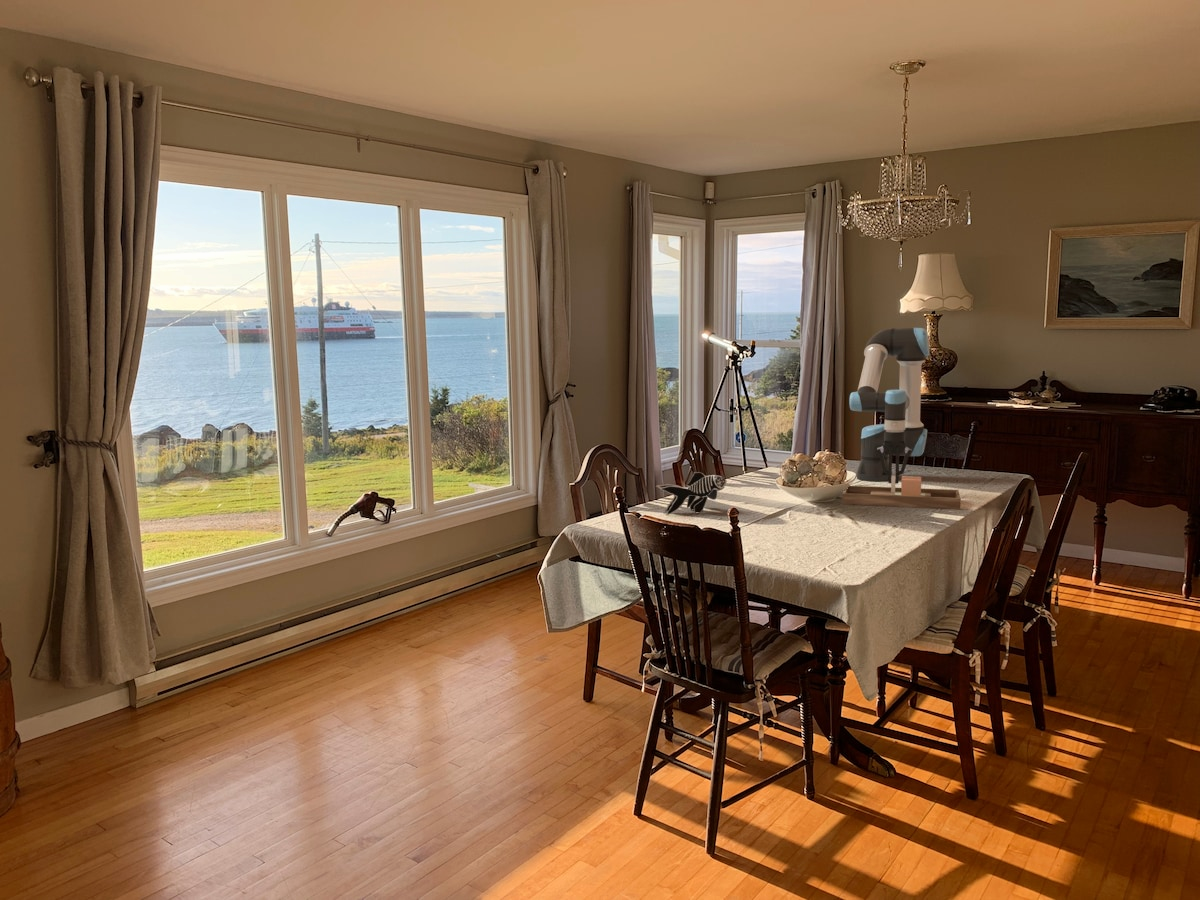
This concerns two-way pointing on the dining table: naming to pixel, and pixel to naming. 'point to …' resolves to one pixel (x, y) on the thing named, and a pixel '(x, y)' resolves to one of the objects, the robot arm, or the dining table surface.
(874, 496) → the trap box
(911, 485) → the block
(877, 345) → the robot arm
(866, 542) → the dining table surface
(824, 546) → the dining table surface
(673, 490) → the decorative fish
